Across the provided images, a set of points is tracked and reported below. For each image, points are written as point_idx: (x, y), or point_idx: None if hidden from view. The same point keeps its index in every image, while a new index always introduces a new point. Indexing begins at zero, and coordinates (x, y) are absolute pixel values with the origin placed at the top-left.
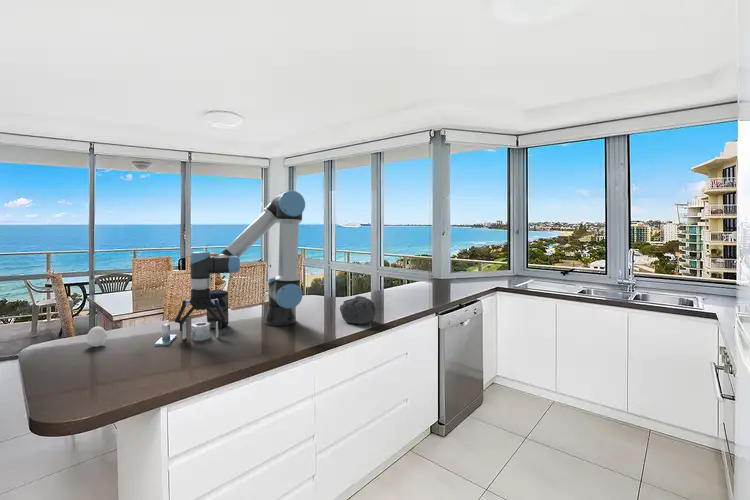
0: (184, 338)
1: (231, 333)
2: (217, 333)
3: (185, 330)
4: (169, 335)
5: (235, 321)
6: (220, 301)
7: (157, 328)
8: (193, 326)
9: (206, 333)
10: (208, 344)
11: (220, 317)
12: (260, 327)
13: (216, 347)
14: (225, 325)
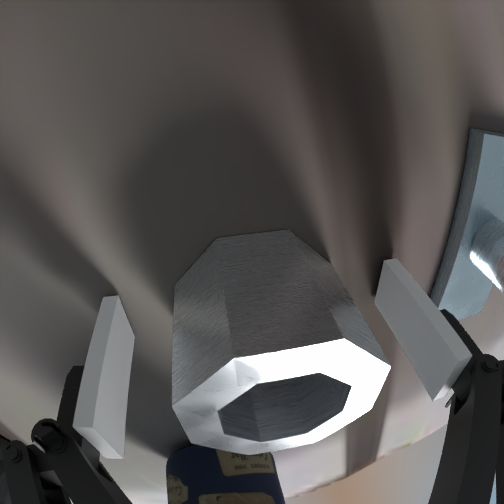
0: (388, 264)
1: None
2: (97, 325)
3: (408, 333)
4: (493, 250)
5: None
6: None
7: None
8: (367, 349)
9: (194, 305)
10: (111, 92)
11: (193, 498)
12: (7, 424)
13: (13, 9)
14: (170, 457)
